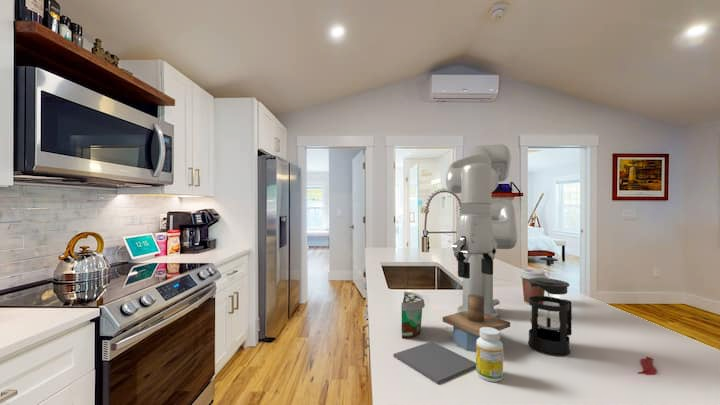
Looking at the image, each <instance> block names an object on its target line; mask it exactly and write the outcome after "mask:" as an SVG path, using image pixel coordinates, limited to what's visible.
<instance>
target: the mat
mask: <svg viewBox="0 0 720 405" xmlns="http://www.w3.org/2000/svg"><path fill="white" fill-rule="evenodd" d="M393 357H394V358H396V359H397V360H399V361H400V362H402V363H404V364H405V365H407V366H408V367H409V368H411V369H412V370H415V371H416V372H417V373H420V374H421V375H423V376H424V377H425V378H427V379H429V380H430V381H432V382H434V383H435V384H437V385H439V384H442V383H443V382H444V383H445V382H446V381H449V380H450V379H453V378H455V377H458V376H459V375H462V374H464V373H467V372H469V371H471V370H474V369H476V361H474V360H471V359H470V358H468V357H465V356H463V355H461V354H458V353H457V352H454V351H453V350H451V349H449V348H447V347H444V346H442V345H440V344H438V343H436V342H434V341H428V342H427V343H421V344H419V345H416V346H413V347H411V348H407V349H404V350H401V351H398V352H395V353H393Z"/></svg>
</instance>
